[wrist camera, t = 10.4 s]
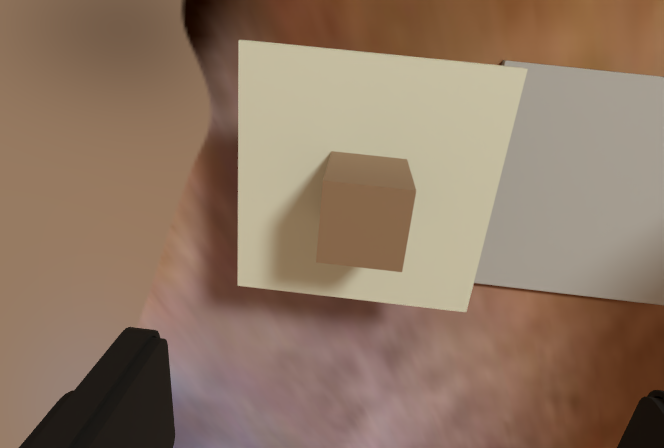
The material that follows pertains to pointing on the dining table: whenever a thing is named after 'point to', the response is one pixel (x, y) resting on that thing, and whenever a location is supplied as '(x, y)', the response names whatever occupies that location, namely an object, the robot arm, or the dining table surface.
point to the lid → (368, 171)
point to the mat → (581, 188)
